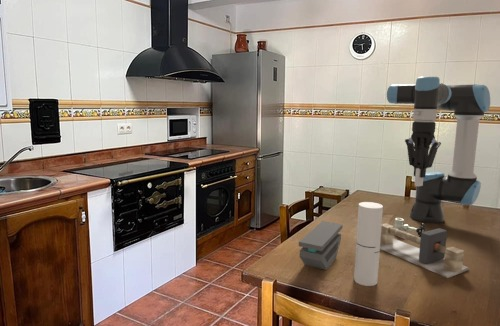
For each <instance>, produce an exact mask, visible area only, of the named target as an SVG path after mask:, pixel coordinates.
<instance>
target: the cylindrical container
mask: <svg viewBox="0 0 500 326" xmlns="http://www.w3.org/2000/svg"><path fill="white" fill-rule="evenodd" d="M383 209H384V206H383V205H382V204H381V203H378V202H372V201H362V202H359V203H358V210H357V211H358V212H357V225H356V226H357V227H356V242H355V243H356V244H355V258H354V270H353V271H354V272H353V280H354V282H355V283H357V284H359V285H361V286H366V287H373V286H376V285H377V284H378V279H379V278H378V276H379V264H380V263H379V261H380V251H381V249H380V239H381V226H382V224H383V223H382V222H383V212H384V210H383Z"/></svg>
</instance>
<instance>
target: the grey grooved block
mask: <svg viewBox="0 0 500 326" xmlns="http://www.w3.org/2000/svg"><path fill="white" fill-rule="evenodd" d="M342 229H343V223H335V222H332V221H331V222H330V221H325V220H322V221H320V222H319V223H318V224H317V225H316V226H315V227H314V228H312V229H311V230H310V231H309V232H308V233H307V234H306V235H305V236H304V237H302V239H300V240H299V241H298V247H300V248H301V247H302V248H301V249H300V250H299V258H300V260H301V261H302V263H303V264H304V266H307V267H312V268H315V269H320V270H324V271H327V270H328V269H329V268H330V267H331V266H332V264H333V263H334V262H335V260H336V259H337V255H338V253H339V249H340V244H341V240H342V233H339V232H341V230H342Z"/></svg>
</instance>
